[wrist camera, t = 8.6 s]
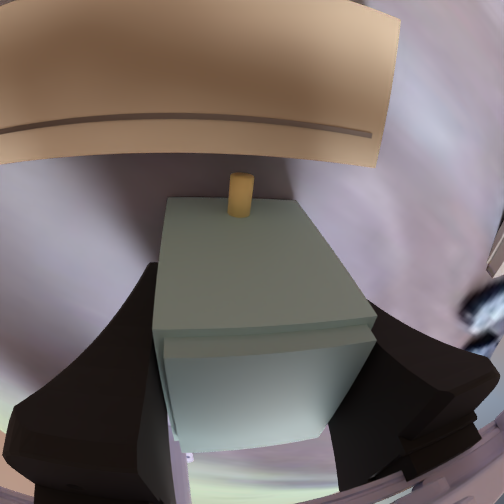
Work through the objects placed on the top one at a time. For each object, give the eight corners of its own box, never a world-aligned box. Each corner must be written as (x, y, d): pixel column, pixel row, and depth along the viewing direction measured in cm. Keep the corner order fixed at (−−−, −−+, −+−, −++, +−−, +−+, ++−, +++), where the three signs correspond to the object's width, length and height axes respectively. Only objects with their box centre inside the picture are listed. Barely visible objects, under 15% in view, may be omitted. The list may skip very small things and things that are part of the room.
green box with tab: (275, 306, 14) (321, 438, 8) (172, 309, 13) (175, 455, 7) (301, 168, 10) (410, 285, 5) (168, 163, 10) (142, 295, 4)
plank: (350, 152, 11) (375, 168, 9) (-113, 180, 6) (-134, 196, 4) (370, 23, 8) (401, 19, 6) (-120, 87, 3) (-143, 95, 2)
